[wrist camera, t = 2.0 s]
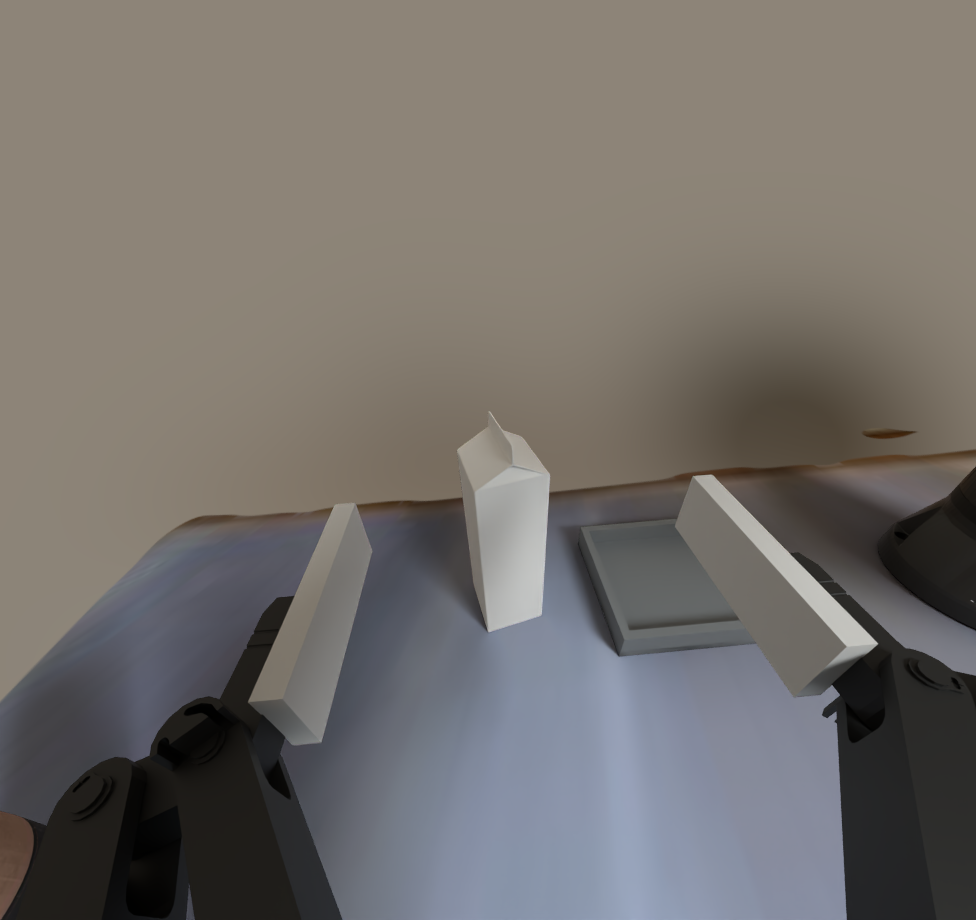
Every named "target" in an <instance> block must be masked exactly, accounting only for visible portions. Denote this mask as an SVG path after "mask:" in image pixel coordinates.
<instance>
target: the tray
mask: <svg viewBox="0 0 976 920" xmlns="http://www.w3.org/2000/svg"><path fill="white" fill-rule="evenodd" d="M676 521H677V519H666V520H655V521H643V522H632V523H620V524H609V525H597V526H586V527H580V534H579V541H578V545H579V547H580V550H581V553H582V556H583V558H584V561H585V564H586V567H587V569H588V572H589V575H590V578H591V580H592V583H593V586H594V589H595V591H596V594H597V597H598V600H599V602H600V605H601V608H602V611H603V613H604V616H605V619H606V622H607V625H608V627H609V630H610V633H611V636H612V638H613V641H614V644H615V647H616V649H617V652H618V655H619V657H620V656H630V655H640V654H651V653H661V652H672V651H682V650H693V649H703V648H713V647H724V646H734V645H745V644H755V643H756V642H755V641H754V639H753V638H752V637H751V635H750V634H749V632H748V631H747V629H746V628H745V626H744V625H743V624H742V622H741V621H740V619H739V618H738V616H737V615H736V614H735V612H734V611H733V609H732V608H731V606H730V605H729V604H728V602H727V601H726V599H725V598H724V596H723V595H722V593H721V592H720V591H719V589H718V588H717V586H716V585H715V583H714V582H713V581H712V579H711V578H710V576H709V575H708V573H707V572H706V571H705V569H704V568H703V566H702V565H701V563H700V562H699V560H698V559H697V558H696V556H695V555H694V553H693V552H692V550H691V549H690V548H689V546H688V545H687V543H686V542H685V540H684V539H683V538H682V536H681V535H680V533H679V532H678V530H677V529H676V527H675V524H676Z"/></svg>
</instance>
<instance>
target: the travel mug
mask: <svg viewBox="0 0 976 920" xmlns="http://www.w3.org/2000/svg"><path fill="white" fill-rule="evenodd" d="M46 827H47V826H45V825H43V824H40V823H37V822H34V821H31V820H28V819H26V818H23V817H19V816H17V815H13V814H9V813H5V812H2V811H0V920H16V917H17V914H18V911H19V908H20V905H21V902H22V899H23V896H24V893H25V890H26V887H27V884H28V881H29V878H30V875H31V872H32V869H33V866H34V863H35V860H36V857H37V854H38V851H39V848H40V845H41V842H42V839H43V836H44V833H45V830H46Z"/></svg>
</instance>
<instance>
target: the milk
mask: <svg viewBox="0 0 976 920" xmlns="http://www.w3.org/2000/svg"><path fill="white" fill-rule="evenodd" d="M457 456H458V464H459V471H460V480H461V488H462V496H463V504H464V512H465V520H466V528H467V536H468V544H469V551H470V559H471V567H472V575H473V583H474V588H475V591H476V594H477V598H478V601H479V604H480V607H481V611H482V614H483V617H484V621H485V624H486V627H487V630H488V632H492V631H495V630H498V629H501V628H504V627H507V626H510V625H514V624H517V623H520V622H523V621H526V620H529V619H532V618H536V617H539V616H541V615H542V601H543V584H544V568H545V552H546V536H547V519H548V503H549V487H550V474H549V472H548V471H547V470H546V469H545V467H544V466H543V464H542V463H541V462H540V460H539V459H538V458H537V456H536V455H535V454H534V452H533V451H532V450H531V449H530V447H529V445H528V444H527V443H526V441H525V440H524V439H523V438H522V437H521V436H519V435H516V434H512V433H510V432H507V431H504V430H502V429H501V427H500V426H499V424H498V423H497V421H496V420H495V418H494V417H493V415H492V414H491V412H490V411H488V427H486V428H485V429H484V430H482V431H481V432H480V433H479V434H477V435H476V436H474V437H473V438H472V439H470V440H469V441H468V442H466V443H465V444H464V445H462V446H461V447H460V448H459V449H458V450H457Z"/></svg>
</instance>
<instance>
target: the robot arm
mask: <svg viewBox="0 0 976 920" xmlns="http://www.w3.org/2000/svg"><path fill="white" fill-rule="evenodd" d="M675 527H676V529H677V530H678V532H679V533H680V535H681V536H682V538H683V539H684V540H685V542H686V543H687V545H688V546H689V548H690V549H691V550H692V552H693V553H694V555H695V556H696V558H697V559H698V560H699V562H700V563H701V565H702V566H703V568H704V569H705V571H706V572H707V573H708V575H709V576H710V578H711V579H712V581H713V582H714V583H715V585H716V586H717V588H718V589H719V591H720V592H721V593H722V595H723V596H724V598H725V599H726V601H727V602H728V604H729V605H730V606H731V608H732V609H733V611H734V612H735V614H736V615H737V616H738V618H739V619H740V621H741V622H742V624H743V625H744V626H745V628H746V629H747V631H748V632H749V634H750V635H751V637H752V638H753V639H754V641H755V642H756V644H757V645H758V647H759V648H760V649H761V651H762V652H763V654H764V655H765V657H766V658H767V659H768V661H769V662H770V664H771V665H772V667H773V668H774V670H775V671H776V672H777V674H778V675H779V677H780V678H781V680H782V681H783V682H784V684H785V685H786V687H787V688H788V690H789V691H790V692H791V694H792V695H793V697H804V696H814V695H821V694H822V693H823V692H824V691H825V690H827V689H828V688H829V687H830V686H831V685H833V686H834V688H835V689H836V690H837V692H838V693H839V694H840V696H839V697H838V698H836V699H835V700H834V701H833V702H832V703H830V704H829V705H828V706H827V707H826V708H824V711H823V714H822V716H824V717H826V718H828V717H829V716H831V715H832V714H833V713H834V712H837V719H836V720H835V722H836V723H837V732H838V752H839V772H840V792H841V812H842V832H843V852H844V872H845V892H846V912H847V920H976V676H974V675H970V674H965V673H960V672H956V671H953V670H951V669H950V668H949V667H947V666H946V665H944V664H943V663H942V662H940V661H939V660H937V659H935V658H933V657H931V656H929V655H927V654H925V653H923V652H919V651H916V650H913V649H906V648H904V647H903V646H902V645H901V644H900V643H899V642H897V641H896V640H895V639H894V638H893V637H892V636H891V635H890V634H889V633H888V632H887V631H886V630H885V629H884V628H883V627H882V626H881V625H880V624H879V623H878V622H877V621H876V620H875V619H874V618H872V617H871V616H870V615H869V614H868V613H867V612H866V611H865V610H864V609H863V608H862V607H861V606H860V605H859V604H858V603H857V602H856V601H855V600H854V599H853V598H852V597H851V596H850V595H847V594H846V591H845V590H844V589H843V588H841V587H840V586H839V585H838V584H837V583H834V581H833V579H832V578H831V577H830V576H829V575H828V574H827V573H826V572H825V571H824V570H823V569H822V568H821V567H820V566H819V565H818V564H816V563H814V562H813V561H811V560H810V559H808V558H806V557H805V556H803V555H802V554H800V553H789V552H788V551H787V550H786V549H785V548H784V547H783V546H782V545H781V544H780V543H779V542H778V541H777V540H776V539H775V538H774V537H773V536H772V535H771V534H770V533H769V532H768V531H767V530H766V529H765V528H764V527H763V526H762V525H761V524H760V523H759V522H758V521H757V520H756V519H755V518H754V517H753V516H752V515H751V514H750V513H749V512H748V511H747V510H746V509H745V508H744V507H743V506H742V505H741V504H740V503H739V502H738V501H737V500H736V499H735V498H734V497H733V496H732V494H731V493H730V492H729V491H728V490H727V489H726V488H725V487H724V486H723V485H722V484H721V483H720V482H719V481H718V480H717V479H716V478H715V477H714V476H713V475H701V476H693V477H692V480H691V483H690V485H689V488H688V491H687V494H686V496H685V499H684V502H683V505H682V507H681V510H680V513H679V516H678V519H677V521H676V524H675ZM878 550H879V554H880V556H881V559H882V560H883V562H884V564H885V565H886V567H887V568H888V569H889V570H890V572H891V573H892V574H893V575H894V576H895V577H896V578H897V579H898V580H899V581H900V582H901V583H902V584H904V585H905V586H906V587H907V588H908V589H909V590H911V591H912V592H913V593H915V594H916V595H917V596H919V597H920V598H921V599H923V600H924V601H926V602H927V603H929V604H930V605H932V606H933V607H935V608H937V609H938V610H940V611H942V612H943V613H945V614H947V615H949V616H951V617H952V618H954V619H956V620H958V621H960V622H962V623H964V624H966V625H968V626H970V627H972V628H974V629H976V467H975V468H974V469H973V470H972V471H971V472H970V473H969V474H968V475H967V476H966V477H965V478H964V479H963V480H962V482H961V483H960V484H959V485H958V486H957V487H956V488H955V489H954V490H953V491H952V492H951V493H950V494H949V496H947V497H946V498H944V499H942V500H940V501H938V502H936V503H934V504H932V505H930V506H928V507H926V508H924V509H922V510H920V511H918V512H916V513H914V514H912V515H910V516H908V517H906V518H904V519H902V520H900V521H898V522H896V523H895V524H894V525H892V526H891V527H890V528H889V530H888V531H887V532H886V533H885V534H884V535H883V536H882V538H881V539H880V541H879V544H878ZM371 554H372V549H371V546H370V543H369V540H368V537H367V535H366V532H365V529H364V526H363V523H362V520H361V518H360V515H359V512H358V509H357V506H356V503H345V504H335V506H334V508H333V510H332V512H331V515H330V517H329V519H328V521H327V524H326V526H325V528H324V530H323V533H322V535H321V537H320V540H319V542H318V544H317V546H316V549H315V551H314V553H313V555H312V558H311V560H310V562H309V565H308V567H307V569H306V571H305V574H304V576H303V578H302V580H301V583H300V585H299V587H298V590H297V592H296V594H295V596H291V597H279V598H276V599H275V601H274V602H273V603H272V604H271V605H270V606H269V607H268V608H267V609H266V611H265V612H264V613H263V614H262V616H261V618H260V620H259V622H258V624H257V626H256V628H255V630H254V634H253V635H252V636H251V638H250V640H249V642H248V644H247V649H245V650H244V652H243V654H242V656H241V658H240V660H239V662H238V664H237V666H236V668H235V670H234V672H233V674H232V676H231V678H230V680H229V682H228V684H227V686H226V688H225V690H224V692H223V694H222V696H221V698H220V700H219V699H216V698H213V697H204V698H199V699H196V700H194V701H192V702H190V703H188V704H186V705H184V706H183V707H181V708H180V709H179V710H178V711H177V712H175V713H174V714H173V715H172V716H171V717H170V718H169V719H168V720H167V721H166V723H165V724H164V725H163V726H162V727H161V729H160V730H159V731H158V733H157V735H156V737H155V739H154V741H153V743H152V745H151V751H150V756H148V757H145V758H143V759H141V760H139V761H136V762H133V761H131V760H129V759H127V758H120V757H114V758H111V759H108V760H106V761H103V762H101V763H99V764H97V765H96V766H94V767H93V768H91V769H90V770H88V771H87V772H85V773H84V774H83V775H82V776H81V777H80V778H79V779H78V780H77V781H76V782H74V783H73V784H72V785H71V786H70V787H69V789H68V790H67V791H66V793H65V794H64V795H63V796H62V798H61V799H60V800H59V801H58V803H57V805H56V807H55V809H54V811H53V813H52V815H51V817H50V819H49V821H48V824H47V827H46V830H45V833H44V836H43V839H42V842H41V845H40V848H39V851H38V854H37V857H36V860H35V863H34V866H33V869H32V872H31V875H30V878H29V881H28V884H27V887H26V890H25V893H24V896H23V899H22V902H21V905H20V908H19V911H18V914H17V917H16V920H186V912H187V900H188V889H189V884H190V891H191V897H192V904H193V910H194V917H195V920H342V918H341V915H340V912H339V909H338V907H337V904H336V901H335V899H334V896H333V893H332V890H331V888H330V885H329V882H328V880H327V877H326V874H325V872H324V869H323V866H322V863H321V861H320V858H319V855H318V853H317V850H316V847H315V845H314V842H313V839H312V836H311V834H310V831H309V828H308V826H307V823H306V820H305V818H304V815H303V812H302V809H301V807H300V804H299V801H298V799H297V796H296V793H295V791H294V788H293V785H292V782H291V780H290V777H289V774H288V772H287V769H286V766H285V764H284V761H283V758H282V757H281V755H280V751H281V748H282V745H283V742H284V739H285V738H286V739H287V740H288V741H289V742H290V743H291V744H292V745H293V746H294V745H304V744H314V743H322V739H323V735H324V731H325V728H326V724H327V720H328V716H329V713H330V709H331V705H332V701H333V697H334V694H335V690H336V686H337V682H338V679H339V675H340V671H341V667H342V664H343V660H344V656H345V652H346V648H347V645H348V641H349V637H350V633H351V630H352V626H353V622H354V618H355V615H356V611H357V607H358V603H359V600H360V596H361V592H362V588H363V584H364V581H365V577H366V573H367V569H368V566H369V562H370V558H371Z"/></svg>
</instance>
